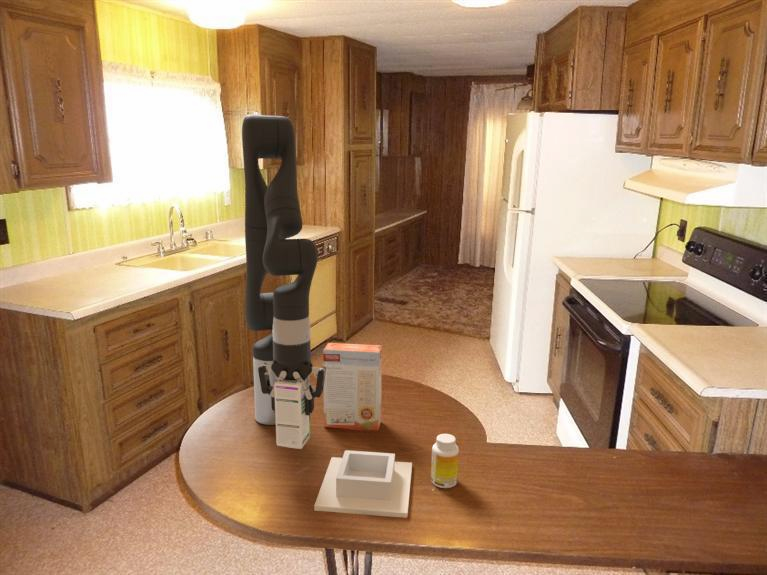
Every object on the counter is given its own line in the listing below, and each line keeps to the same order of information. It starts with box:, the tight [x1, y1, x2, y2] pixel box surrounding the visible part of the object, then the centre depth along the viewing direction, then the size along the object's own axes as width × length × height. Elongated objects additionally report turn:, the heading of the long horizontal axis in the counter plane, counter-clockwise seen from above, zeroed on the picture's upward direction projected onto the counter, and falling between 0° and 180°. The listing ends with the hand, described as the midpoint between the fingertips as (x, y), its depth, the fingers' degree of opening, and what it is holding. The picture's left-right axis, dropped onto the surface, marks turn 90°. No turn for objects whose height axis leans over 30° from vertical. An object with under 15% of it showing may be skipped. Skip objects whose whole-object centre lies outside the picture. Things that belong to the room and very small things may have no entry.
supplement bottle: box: [430, 433, 460, 489], centre depth 118 cm, size 6×6×10 cm
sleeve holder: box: [313, 450, 413, 519], centre depth 116 cm, size 18×18×5 cm
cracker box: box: [322, 342, 383, 432], centre depth 141 cm, size 14×6×21 cm, turn 83°
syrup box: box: [274, 375, 312, 450], centre depth 118 cm, size 6×6×14 cm
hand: (292, 412), depth 118 cm, fingers closed on syrup box, 6 cm apart
